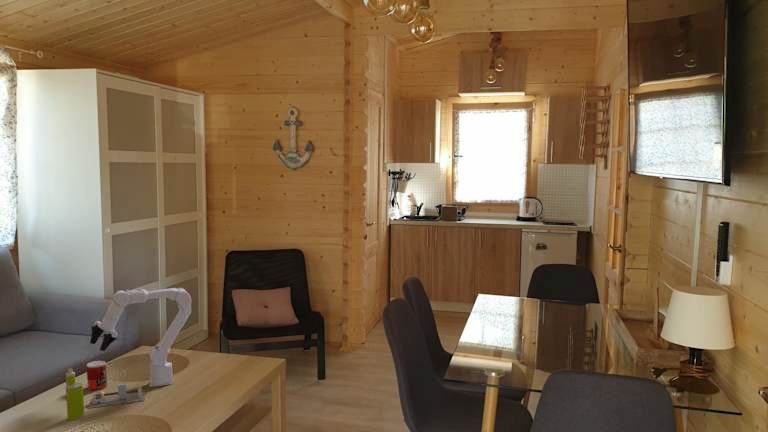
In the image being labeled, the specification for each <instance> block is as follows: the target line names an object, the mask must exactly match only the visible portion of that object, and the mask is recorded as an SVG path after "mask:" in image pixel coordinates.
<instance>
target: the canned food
mask: <svg viewBox="0 0 768 432" xmlns="http://www.w3.org/2000/svg"><path fill="white" fill-rule="evenodd" d="M107 377H108V376H107V362H106V361H104V360H94V361H91V362H88V363H87V364H86V379H87V380H86V381H87V388H88V390H89V391H100V390H103V389H105V388H107V386H108V378H107Z"/></svg>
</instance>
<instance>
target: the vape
mask: <svg viewBox="0 0 768 432" xmlns="http://www.w3.org/2000/svg"><path fill="white" fill-rule="evenodd" d="M65 382H66V387H65V396H66V411H67V413H66V414H67V419H68V421H74V420H78V419H80V417H81V418H83V417H85V404H84V389H83V387H84V385H83V383H82V382H81V383H80V382H79V383H76V372H75V371H73V367H68V368H67V372H66V373H65Z"/></svg>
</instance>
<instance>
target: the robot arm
mask: <svg viewBox="0 0 768 432" xmlns="http://www.w3.org/2000/svg"><path fill="white" fill-rule="evenodd" d="M112 298H113V300H112V301H111V303H110V304H109V306H108V309H107V311H106V312H105V314H104V317H103V319H102V321H99V320H95V321H94V324H93V325H91V337H90V342H89V344H91V345H95V344H97V342H98V340H99V338H100V337H101V335H102V334H103V338H102V342H101V344H100V348H99V351H103V352H105V351H106V350H107V349H108V347H109V346H110V345H111V344H112V343H113V342H115V341H116V340H117V339H118V335H119V332H117V331H116V330H115V327H116V325H117V323H118V322H119V319H120V317H121V315H122V313H123V311H124V309H125V306H127V305H128V304H140V303H145V302H146V301H147V300H149V299H151V300H152V299H163V298H164V299H165V298H168V299H169V300H171V301H175V303H176V305H177V307H178V312H177V314H176V315H175V317H174V318H173V320H172V322H171V323H170V325H169V327H168V329H167V330H166V331H165V334H164V335H163V336H162V338H161V340H159V341H158V343H156V345H155V346H154V347H153V348H151V349H150V351H149V355H148V356H149V358H150V359H151V361H150V362H149V369H150V370H149V374H150V380H149V381H150V382H149V388H152V387H153V388H154V387H160V386H166V385H167V386H168V385H173V379H174V374H173V364H172V362H168V361H167V360H168V356H169V353H170V350H171V346H172V345H173V344H174V342H175V340H176V338H177V337H178V335H179V334H180V331H181V330H182V329H183V327H184V325H185V323H186V322H187V321H188V319H189V317H190V316H191V314H192V302H193V301H192V300H193V299H192V296H191V295H190V293H189V292H187V291H186V289H185V288H183V287H178V288H177V287H171V288H164V289H157V290H150V291H147V290H146V289H144V288H143V289H142V288H140V287H138V288H137V289H134V290H133V289H132V290H129V289H126V291H124V290H118V291H116V292H115V293H114V294H113V295H112ZM104 332H106V333H104Z"/></svg>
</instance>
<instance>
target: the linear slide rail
mask: <svg viewBox="0 0 768 432" xmlns="http://www.w3.org/2000/svg"><path fill="white" fill-rule="evenodd" d="M126 393H127V397H124V398H119V397H118V391H115V392H114V391H113V392H108V393H105V391H104V390H103V391H99V392H95V393H93V394H92V398H91V400H90V403H89V406H88V408H90V409H95V408H94V407H97V408H103V407H102V406H104V407H109V406H108V405H111V406H116V405H115V404H118V405H122V404H121V403H125V404H131V403H130V402H133V403H138V402H139V401H140V402H144V401H145V398H146V391H143V390H142V387H138V388H137V389H131V390H127V391H126Z"/></svg>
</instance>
